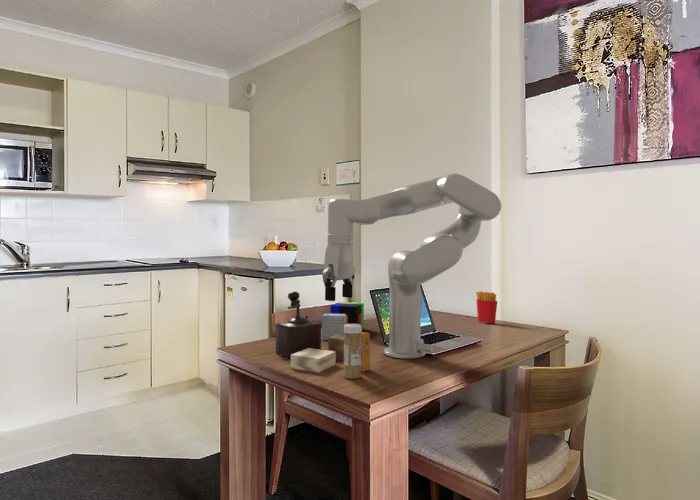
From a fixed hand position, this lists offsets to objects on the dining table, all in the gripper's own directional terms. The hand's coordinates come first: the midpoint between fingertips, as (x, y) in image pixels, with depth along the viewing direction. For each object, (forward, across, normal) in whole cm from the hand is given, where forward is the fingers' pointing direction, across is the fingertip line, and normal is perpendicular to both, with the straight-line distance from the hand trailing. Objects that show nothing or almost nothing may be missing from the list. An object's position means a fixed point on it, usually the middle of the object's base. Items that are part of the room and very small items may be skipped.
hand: (338, 298), depth 145 cm
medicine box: (+18, -20, -14) cm, 30 cm away
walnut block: (+17, 0, 0) cm, 17 cm away
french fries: (+16, -80, +24) cm, 85 cm away
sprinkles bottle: (+18, +15, +14) cm, 27 cm away
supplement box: (+18, +8, +12) cm, 23 cm away
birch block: (+18, +12, 0) cm, 21 cm away
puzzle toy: (+18, -36, -18) cm, 44 cm away
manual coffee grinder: (+18, +2, -15) cm, 23 cm away
